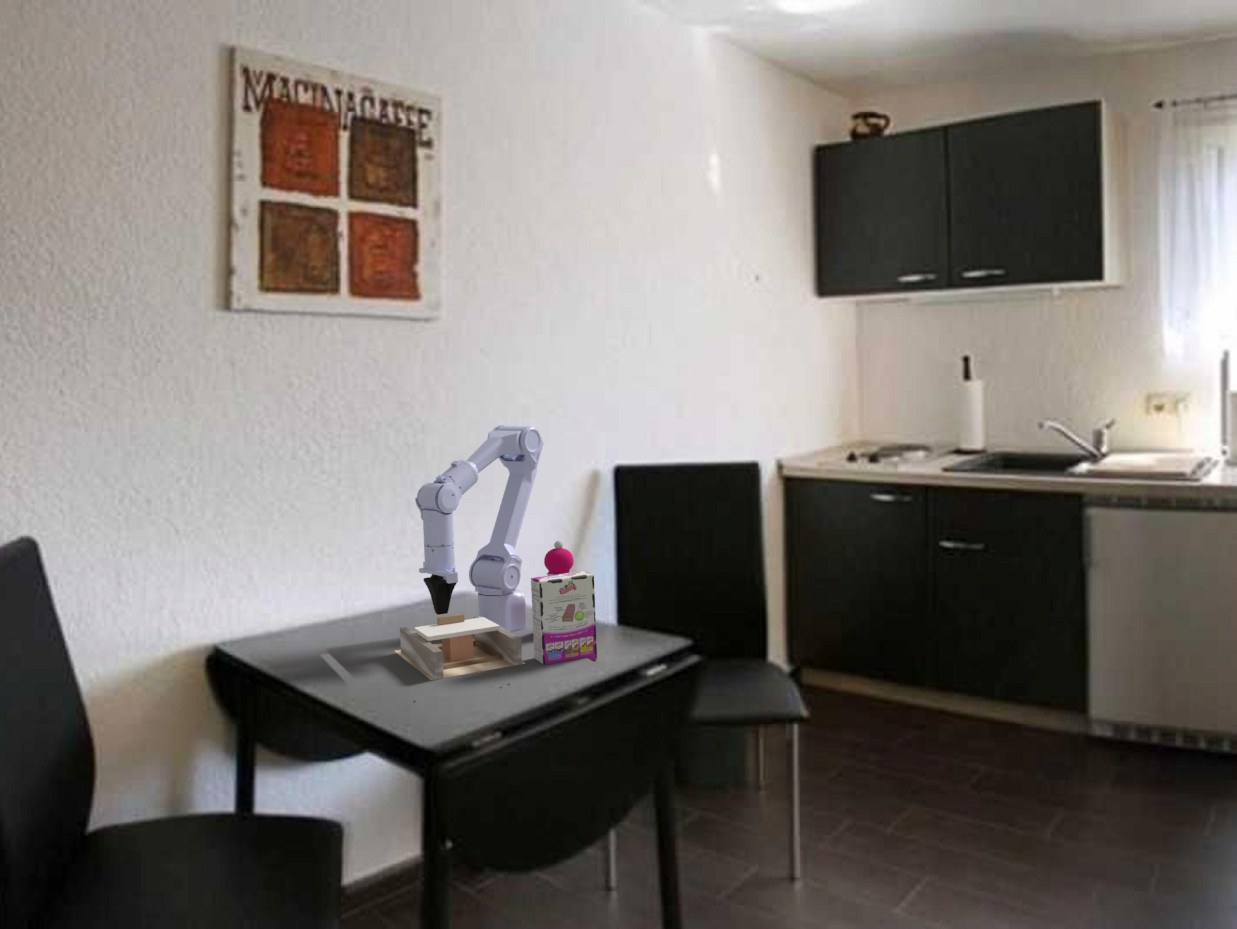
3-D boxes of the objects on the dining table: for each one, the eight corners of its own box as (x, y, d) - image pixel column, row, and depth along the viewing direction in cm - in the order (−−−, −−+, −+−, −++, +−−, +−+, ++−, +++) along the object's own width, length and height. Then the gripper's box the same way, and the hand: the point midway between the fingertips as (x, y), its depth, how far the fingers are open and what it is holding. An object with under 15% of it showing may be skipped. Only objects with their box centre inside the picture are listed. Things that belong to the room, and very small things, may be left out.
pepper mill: (543, 633, 205) (540, 538, 203) (577, 632, 205) (575, 537, 203) (543, 642, 197) (540, 544, 196) (579, 641, 198) (576, 543, 196)
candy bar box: (586, 654, 189) (584, 569, 187) (597, 660, 184) (595, 574, 183) (532, 663, 184) (529, 576, 182) (543, 669, 179) (540, 581, 178)
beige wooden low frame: (481, 641, 199) (480, 613, 199) (526, 668, 180) (525, 637, 180) (394, 655, 190) (392, 626, 190) (431, 685, 171) (430, 652, 171)
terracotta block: (465, 652, 188) (464, 629, 188) (473, 657, 184) (472, 634, 184) (442, 655, 186) (441, 632, 186) (450, 661, 182) (449, 637, 182)
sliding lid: (484, 621, 192) (483, 610, 191) (500, 629, 185) (499, 618, 184) (414, 631, 185) (413, 620, 184) (428, 641, 178) (427, 629, 178)
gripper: (407, 541, 195) (410, 608, 196) (431, 552, 182) (434, 623, 184) (441, 538, 198) (444, 604, 200) (467, 548, 186) (469, 618, 187)
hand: (441, 613), depth 192 cm, fingers closed
